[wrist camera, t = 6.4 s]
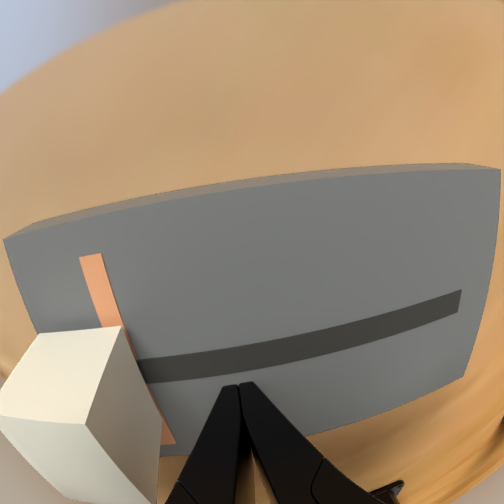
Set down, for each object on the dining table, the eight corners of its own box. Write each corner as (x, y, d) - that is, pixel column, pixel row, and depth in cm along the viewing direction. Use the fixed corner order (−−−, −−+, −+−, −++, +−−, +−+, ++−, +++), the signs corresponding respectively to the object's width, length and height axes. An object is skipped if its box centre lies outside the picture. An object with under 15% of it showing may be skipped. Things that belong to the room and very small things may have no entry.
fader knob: (162, 419, 9) (156, 508, 6) (88, 421, 9) (67, 498, 5) (122, 325, 8) (84, 424, 4) (39, 333, 7) (-14, 412, 4)
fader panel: (442, 355, 13) (463, 376, 12) (119, 424, 12) (112, 457, 10) (467, 163, 10) (501, 169, 8) (33, 223, 9) (1, 240, 7)
